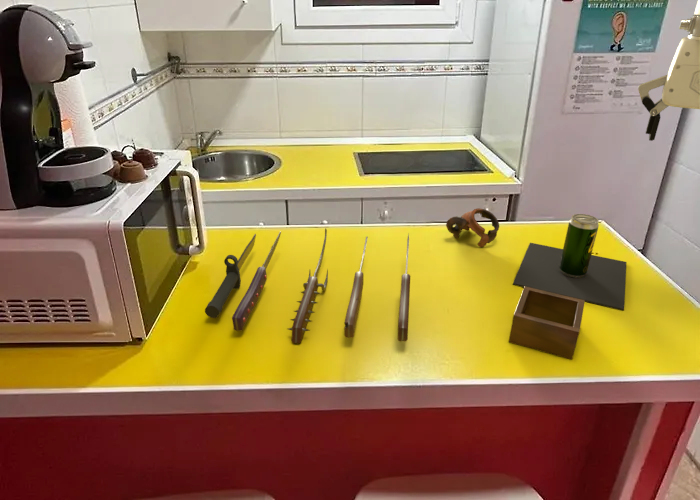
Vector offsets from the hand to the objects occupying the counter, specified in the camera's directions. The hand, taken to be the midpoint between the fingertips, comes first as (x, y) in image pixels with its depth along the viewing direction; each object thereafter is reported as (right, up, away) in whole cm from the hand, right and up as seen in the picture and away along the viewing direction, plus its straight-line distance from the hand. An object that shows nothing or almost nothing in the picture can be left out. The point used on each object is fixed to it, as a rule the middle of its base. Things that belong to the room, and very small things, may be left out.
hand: (684, 142), depth 85 cm
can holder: (-22, -32, +4) cm, 39 cm away
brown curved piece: (-27, -15, +36) cm, 47 cm away
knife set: (-61, -26, +15) cm, 68 cm away
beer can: (-9, -22, +22) cm, 32 cm away
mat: (-9, -22, +22) cm, 33 cm away
